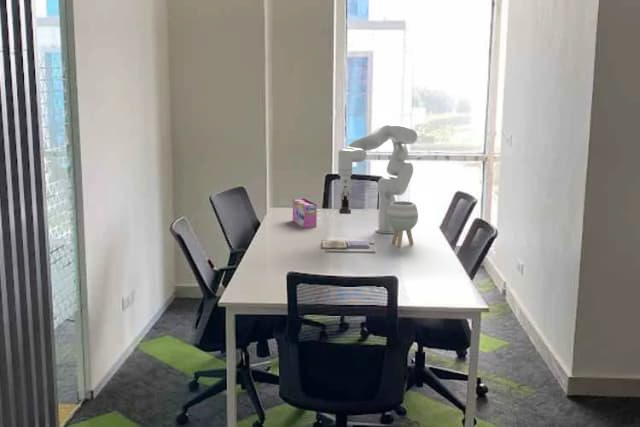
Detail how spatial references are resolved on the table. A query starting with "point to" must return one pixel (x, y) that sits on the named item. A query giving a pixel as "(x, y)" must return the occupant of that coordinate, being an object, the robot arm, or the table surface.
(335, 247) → the marked board
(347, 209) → the stamp
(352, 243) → the ink pad
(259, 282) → the table surface
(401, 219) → the planter
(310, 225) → the gum box
